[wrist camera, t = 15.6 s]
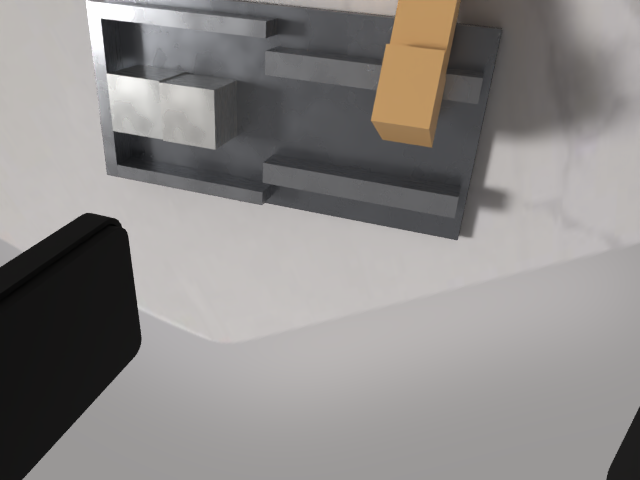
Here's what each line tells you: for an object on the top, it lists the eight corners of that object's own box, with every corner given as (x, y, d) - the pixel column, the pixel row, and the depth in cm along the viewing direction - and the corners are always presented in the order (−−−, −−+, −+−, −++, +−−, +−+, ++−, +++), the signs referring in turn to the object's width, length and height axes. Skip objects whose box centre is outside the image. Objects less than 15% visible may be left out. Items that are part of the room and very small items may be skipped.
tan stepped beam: (382, 139, 33) (422, -58, 33) (432, 147, 33) (473, -55, 32) (370, 120, 28) (417, -112, 28) (428, 129, 28) (477, -109, 27)
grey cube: (185, 73, 39) (159, 82, 36) (236, 80, 38) (213, 90, 35) (188, 127, 41) (163, 140, 38) (237, 135, 40) (215, 149, 37)
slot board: (110, -14, 39) (84, -12, 37) (502, 28, 33) (501, 33, 31) (129, 171, 46) (108, 183, 43) (458, 235, 39) (455, 253, 37)
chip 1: (136, 65, 40) (106, 73, 37) (185, 71, 39) (158, 81, 36) (141, 118, 42) (112, 130, 39) (188, 126, 41) (163, 139, 38)
